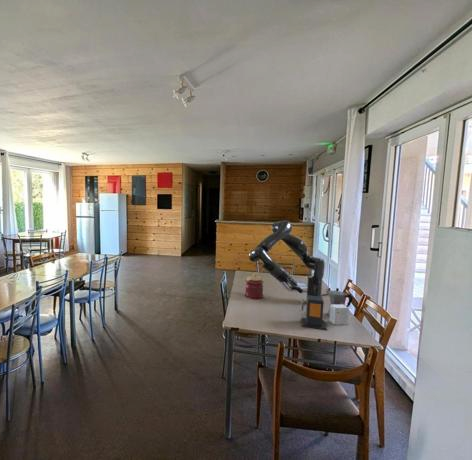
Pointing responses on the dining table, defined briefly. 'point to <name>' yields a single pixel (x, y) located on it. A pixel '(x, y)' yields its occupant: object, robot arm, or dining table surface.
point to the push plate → (302, 304)
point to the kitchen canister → (254, 287)
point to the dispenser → (314, 313)
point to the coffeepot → (338, 298)
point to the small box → (339, 314)
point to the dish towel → (299, 286)
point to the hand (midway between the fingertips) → (301, 291)
